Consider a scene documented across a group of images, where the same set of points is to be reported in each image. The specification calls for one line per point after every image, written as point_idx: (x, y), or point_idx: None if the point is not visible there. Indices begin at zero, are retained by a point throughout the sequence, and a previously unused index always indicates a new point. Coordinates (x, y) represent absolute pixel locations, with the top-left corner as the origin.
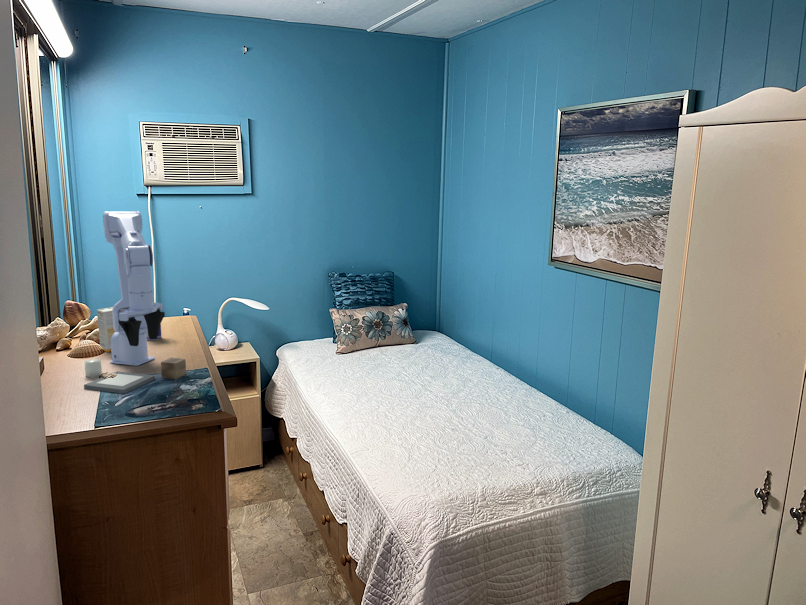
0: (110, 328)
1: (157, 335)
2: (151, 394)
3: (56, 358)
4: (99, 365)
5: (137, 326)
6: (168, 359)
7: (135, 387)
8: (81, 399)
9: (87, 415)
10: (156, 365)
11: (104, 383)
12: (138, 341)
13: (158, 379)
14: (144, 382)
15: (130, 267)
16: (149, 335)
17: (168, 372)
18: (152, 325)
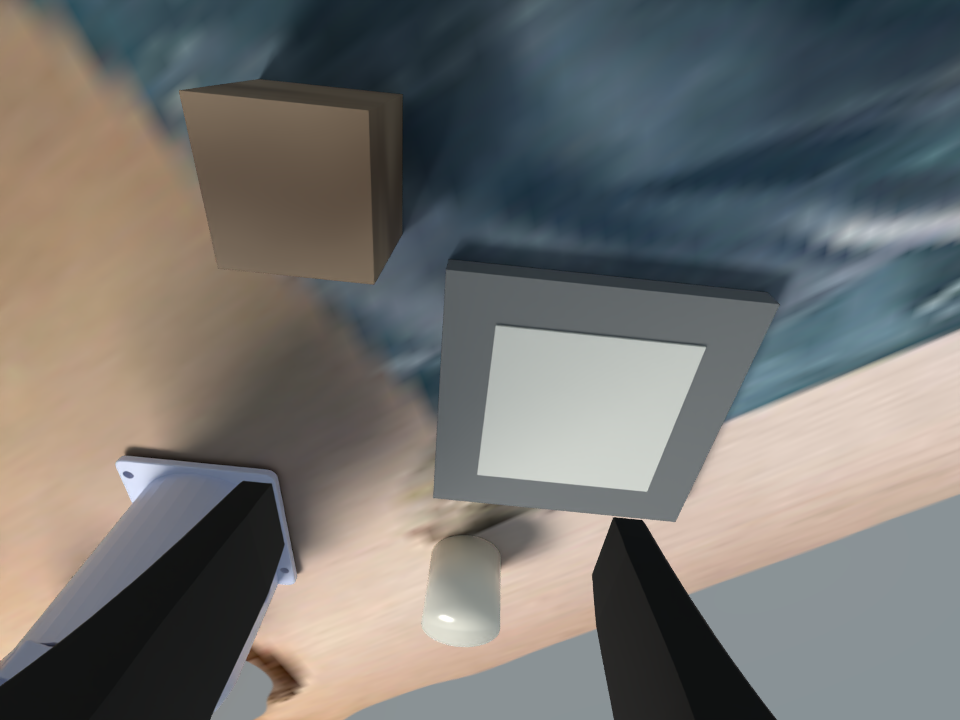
0: None
1: (224, 509)
2: (805, 82)
3: (332, 707)
4: (462, 583)
5: None
6: (280, 259)
7: (656, 283)
8: (845, 443)
9: None
10: (206, 392)
11: (654, 455)
12: (639, 559)
13: (446, 234)
14: (565, 275)
15: None
16: (269, 577)
17: (392, 182)
18: (169, 710)
